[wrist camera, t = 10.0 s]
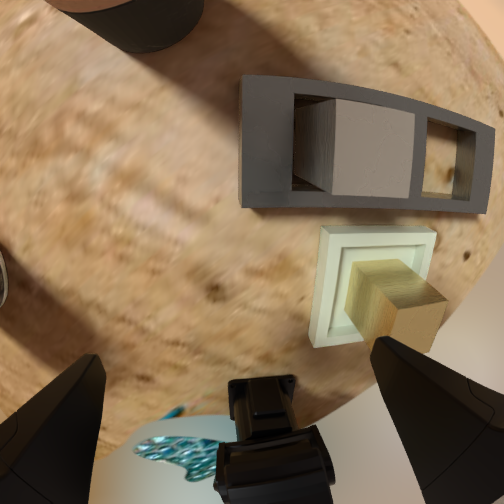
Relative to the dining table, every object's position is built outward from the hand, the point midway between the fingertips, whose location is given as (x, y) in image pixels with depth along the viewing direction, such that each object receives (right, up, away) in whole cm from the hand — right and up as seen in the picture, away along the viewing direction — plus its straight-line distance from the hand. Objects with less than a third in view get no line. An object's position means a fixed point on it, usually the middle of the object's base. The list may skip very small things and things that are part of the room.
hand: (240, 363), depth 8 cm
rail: (+10, +11, +11) cm, 19 cm away
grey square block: (+5, +11, +10) cm, 16 cm away
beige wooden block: (+10, +1, +15) cm, 18 cm away
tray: (+10, +1, +15) cm, 18 cm away
